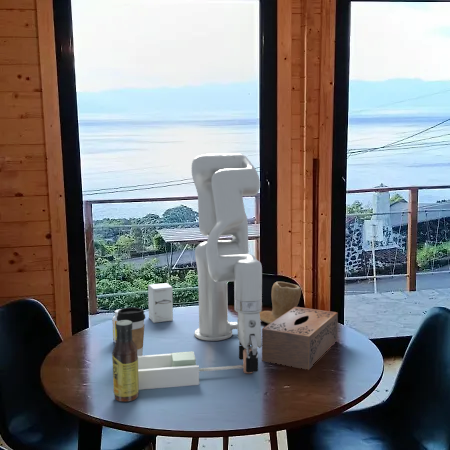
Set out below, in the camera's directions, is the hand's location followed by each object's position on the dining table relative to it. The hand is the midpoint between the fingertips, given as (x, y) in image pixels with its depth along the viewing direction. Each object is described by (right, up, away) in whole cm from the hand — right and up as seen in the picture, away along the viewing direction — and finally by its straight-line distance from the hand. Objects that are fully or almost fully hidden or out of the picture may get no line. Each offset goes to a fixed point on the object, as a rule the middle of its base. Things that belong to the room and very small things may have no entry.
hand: (248, 365), depth 159 cm
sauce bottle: (-31, -5, -15) cm, 35 cm away
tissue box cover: (+17, 0, +17) cm, 24 cm away
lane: (-23, -3, -4) cm, 24 cm away
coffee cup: (-34, -1, +11) cm, 36 cm away
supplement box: (-30, +4, +49) cm, 58 cm away
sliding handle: (-10, -2, -1) cm, 10 cm away
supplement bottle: (-40, +1, +26) cm, 48 cm away
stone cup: (+13, +4, +43) cm, 45 cm away
